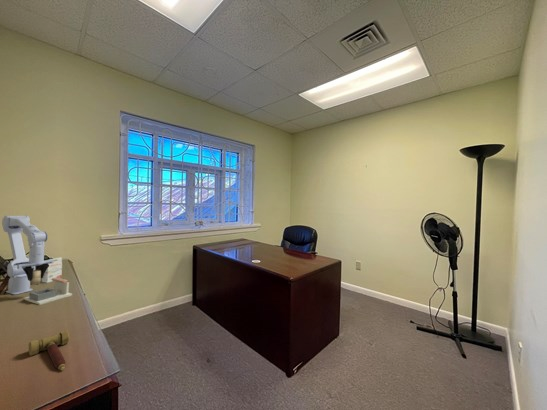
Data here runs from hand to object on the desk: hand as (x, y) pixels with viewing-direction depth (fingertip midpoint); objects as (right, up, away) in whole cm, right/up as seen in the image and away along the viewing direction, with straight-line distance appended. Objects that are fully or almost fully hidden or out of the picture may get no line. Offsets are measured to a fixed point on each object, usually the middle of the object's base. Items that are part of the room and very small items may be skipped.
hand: (35, 279), depth 126 cm
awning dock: (+8, -10, 0) cm, 12 cm away
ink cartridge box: (-16, -9, +25) cm, 31 cm away
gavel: (+55, -12, -47) cm, 74 cm away
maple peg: (0, -3, 0) cm, 3 cm away
